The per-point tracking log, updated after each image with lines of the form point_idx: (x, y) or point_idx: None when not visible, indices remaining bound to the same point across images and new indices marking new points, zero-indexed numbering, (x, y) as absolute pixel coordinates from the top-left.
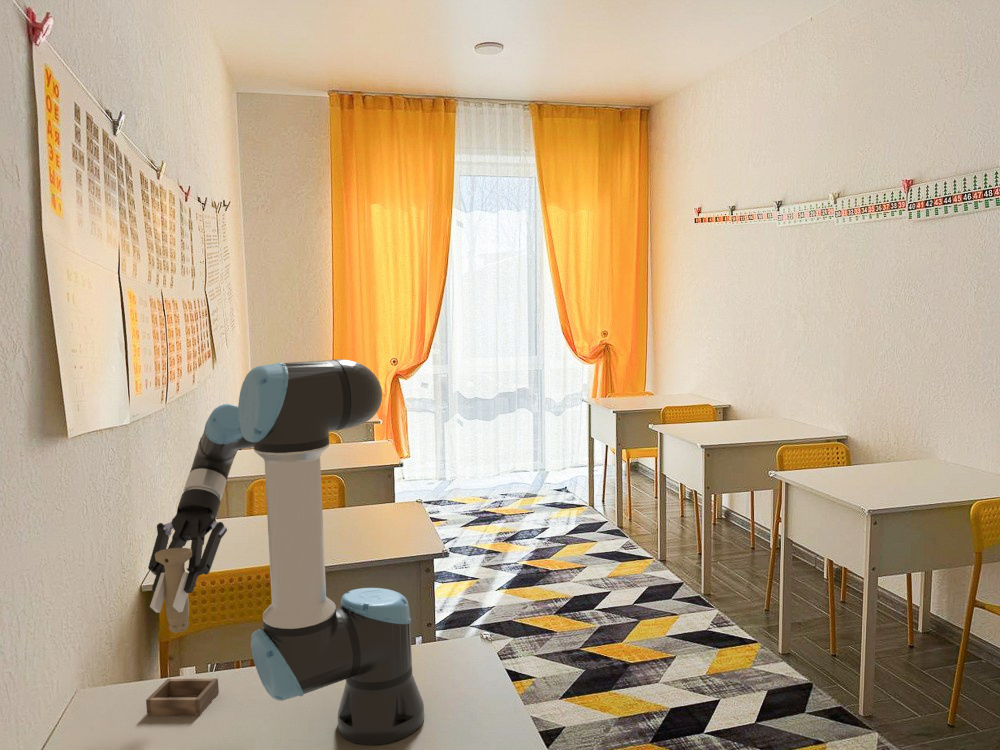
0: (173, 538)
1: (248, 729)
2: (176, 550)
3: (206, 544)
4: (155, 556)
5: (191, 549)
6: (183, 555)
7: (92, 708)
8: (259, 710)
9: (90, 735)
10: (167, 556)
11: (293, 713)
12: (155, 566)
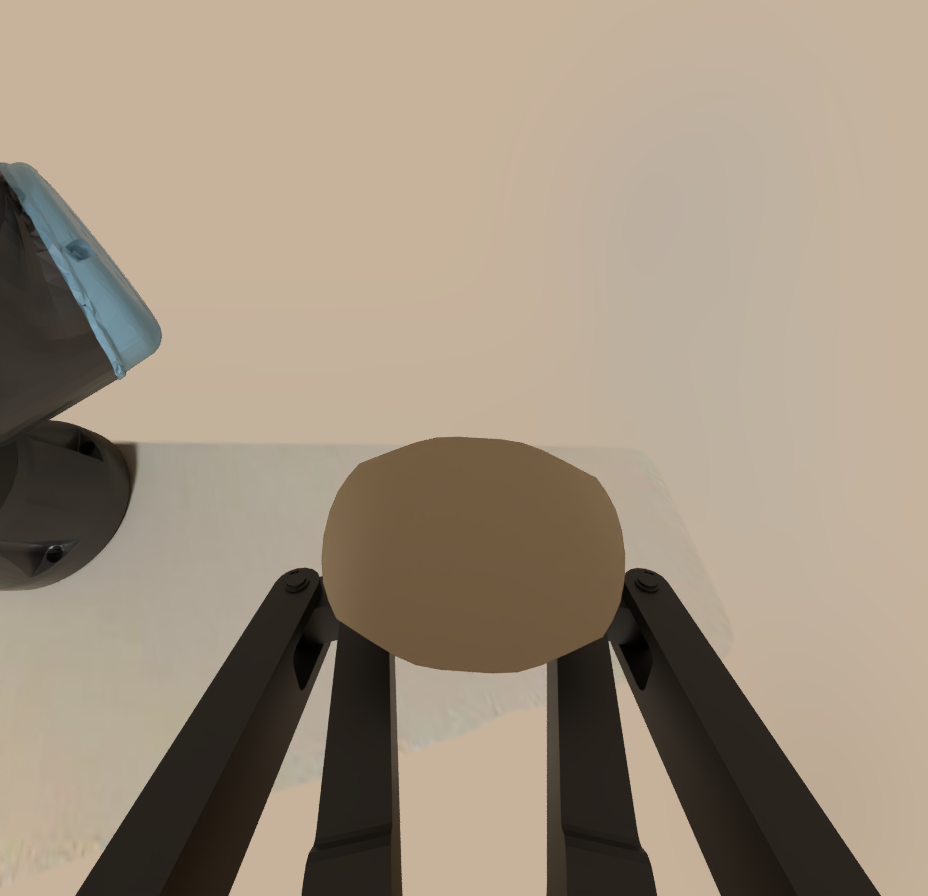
0: (623, 843)
1: (299, 479)
2: (468, 590)
3: (226, 763)
4: (586, 477)
5: (335, 608)
6: (354, 471)
7: (655, 559)
8: (295, 546)
9: (588, 464)
10: (468, 439)
11: (223, 534)
12: (624, 594)
